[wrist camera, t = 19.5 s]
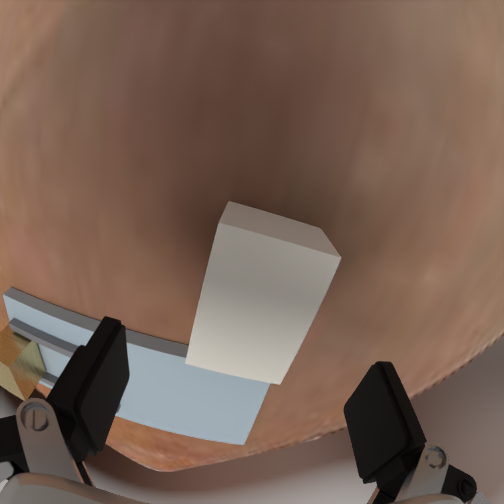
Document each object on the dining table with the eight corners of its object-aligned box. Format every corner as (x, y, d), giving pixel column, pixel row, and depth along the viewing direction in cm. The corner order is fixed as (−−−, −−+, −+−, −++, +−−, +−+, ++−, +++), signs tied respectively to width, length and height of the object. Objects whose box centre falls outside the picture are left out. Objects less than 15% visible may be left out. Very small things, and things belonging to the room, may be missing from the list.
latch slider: (9, 323, 20) (-17, 350, 15) (35, 337, 20) (9, 367, 16) (21, 358, 22) (-1, 385, 17) (46, 371, 22) (25, 401, 17)
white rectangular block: (228, 200, 17) (218, 222, 13) (320, 227, 18) (341, 257, 13) (198, 317, 21) (185, 363, 16) (275, 336, 21) (279, 384, 16)
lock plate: (11, 287, 20) (-4, 298, 18) (273, 361, 22) (274, 383, 19) (35, 370, 24) (26, 382, 22) (244, 434, 26) (243, 452, 24)
